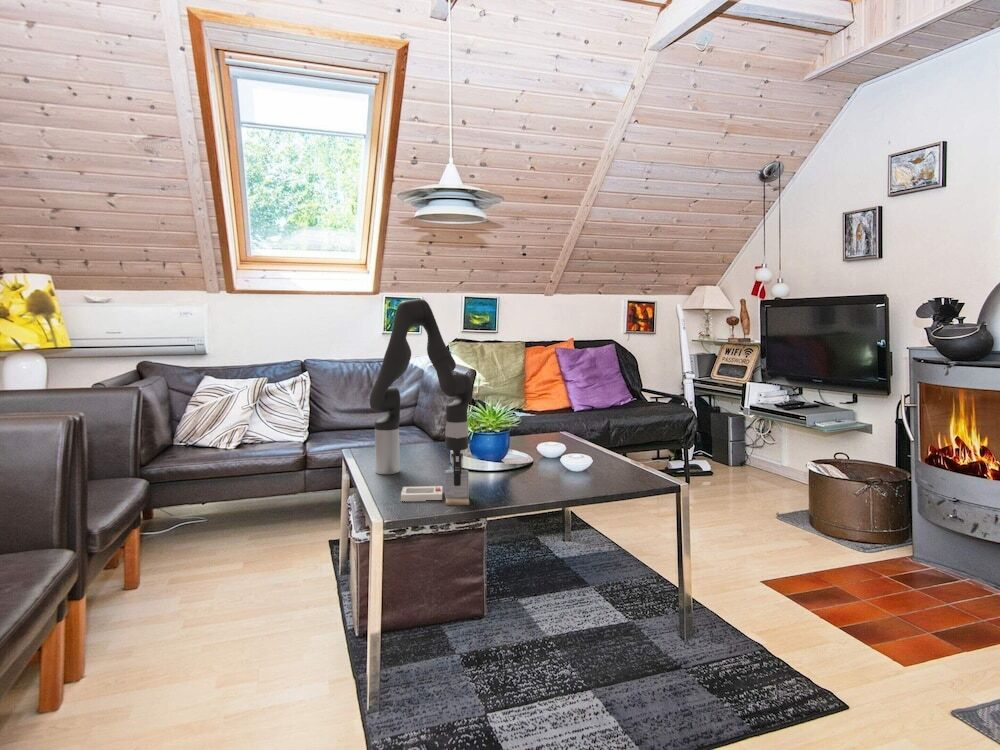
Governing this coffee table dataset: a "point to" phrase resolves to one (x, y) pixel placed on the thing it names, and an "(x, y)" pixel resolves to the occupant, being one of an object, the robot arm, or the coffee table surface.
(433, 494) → the power strip
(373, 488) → the coffee table surface
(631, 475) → the coffee table surface
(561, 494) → the coffee table surface
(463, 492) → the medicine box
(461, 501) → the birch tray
